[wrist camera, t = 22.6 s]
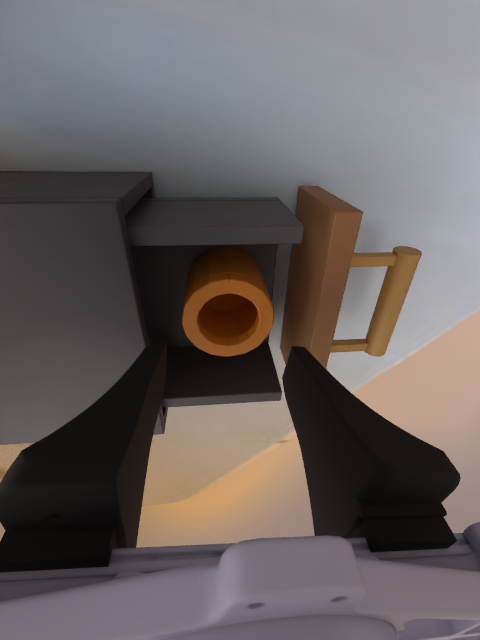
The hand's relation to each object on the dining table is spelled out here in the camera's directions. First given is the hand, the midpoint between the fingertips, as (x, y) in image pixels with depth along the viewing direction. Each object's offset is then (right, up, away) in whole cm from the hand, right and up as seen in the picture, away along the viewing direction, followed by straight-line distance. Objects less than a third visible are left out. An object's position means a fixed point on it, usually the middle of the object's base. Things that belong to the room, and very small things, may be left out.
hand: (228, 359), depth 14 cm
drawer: (+1, +5, +7) cm, 8 cm away
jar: (0, +4, +6) cm, 7 cm away
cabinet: (-11, +5, +7) cm, 14 cm away
